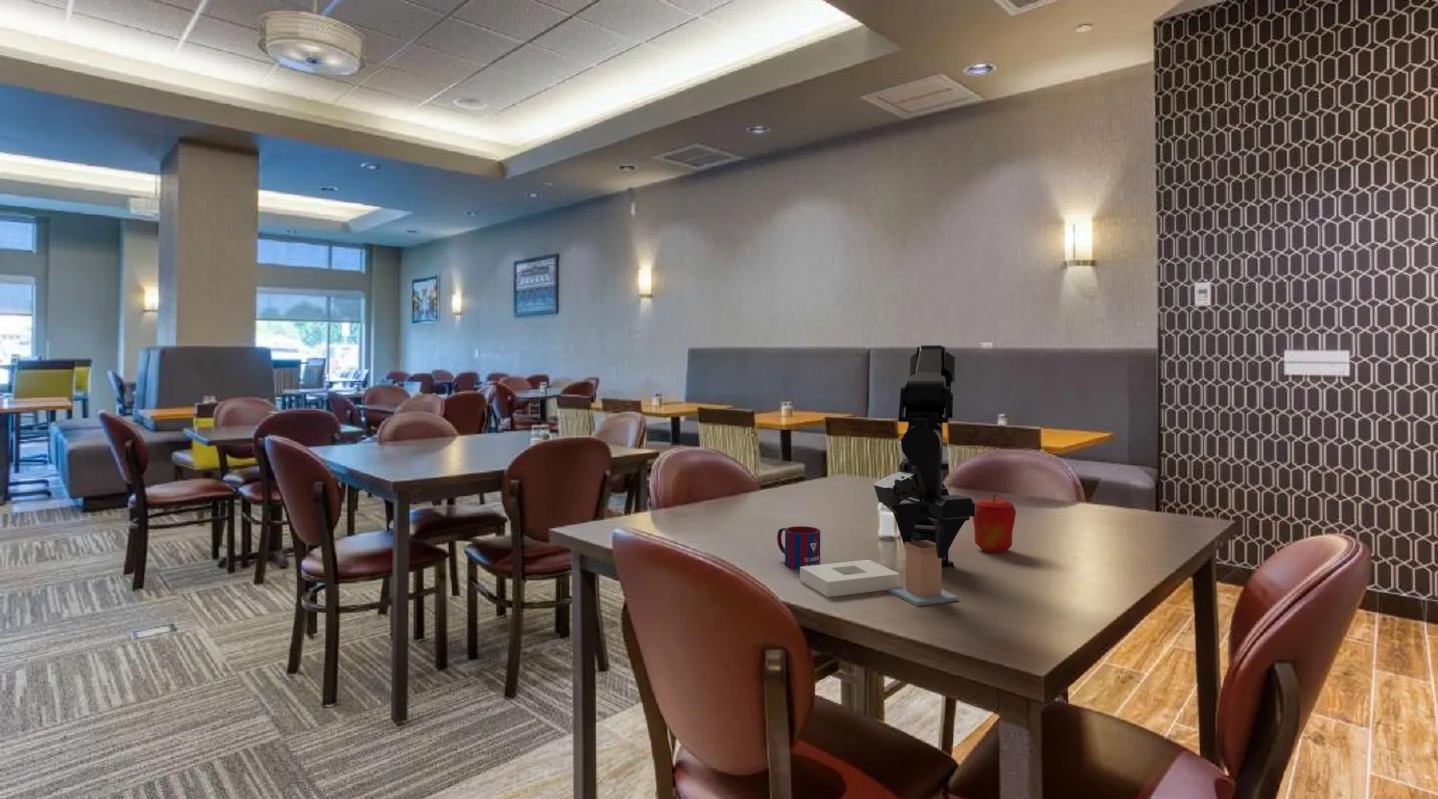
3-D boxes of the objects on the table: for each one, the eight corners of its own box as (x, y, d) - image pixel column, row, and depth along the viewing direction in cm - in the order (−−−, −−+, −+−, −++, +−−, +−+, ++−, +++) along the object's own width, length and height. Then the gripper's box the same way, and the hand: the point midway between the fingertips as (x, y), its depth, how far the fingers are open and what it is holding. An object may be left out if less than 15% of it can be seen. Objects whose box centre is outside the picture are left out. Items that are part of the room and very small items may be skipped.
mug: (799, 571, 137) (799, 535, 136) (767, 559, 145) (767, 525, 145) (827, 566, 140) (827, 531, 140) (794, 555, 149) (795, 521, 148)
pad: (928, 586, 127) (928, 583, 127) (958, 600, 120) (958, 596, 120) (888, 591, 124) (888, 588, 124) (917, 606, 117) (917, 602, 117)
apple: (988, 543, 158) (989, 489, 158) (1024, 551, 152) (1025, 494, 151) (963, 549, 154) (963, 493, 153) (999, 558, 147) (999, 498, 146)
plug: (926, 587, 125) (926, 540, 125) (942, 594, 121) (943, 546, 120) (904, 589, 123) (904, 542, 123) (920, 597, 119) (920, 548, 119)
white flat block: (868, 573, 136) (868, 559, 136) (900, 588, 126) (900, 573, 126) (799, 580, 131) (799, 566, 131) (827, 597, 121) (827, 582, 121)
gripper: (851, 452, 127) (850, 542, 127) (917, 465, 109) (916, 570, 110) (906, 450, 131) (905, 537, 131) (978, 462, 113) (977, 563, 114)
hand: (923, 551), depth 121 cm, fingers open, 9 cm apart
